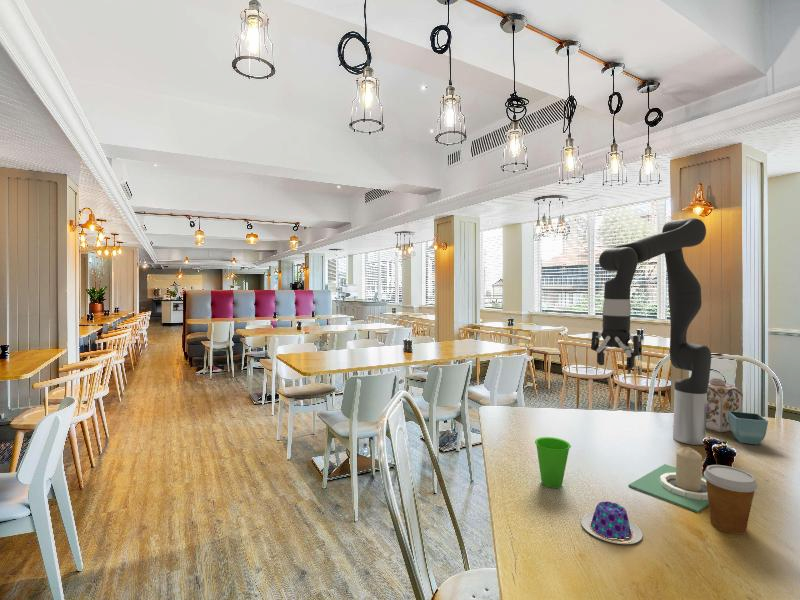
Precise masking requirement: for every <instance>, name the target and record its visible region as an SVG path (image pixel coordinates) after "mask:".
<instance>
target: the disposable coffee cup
mask: <svg viewBox="0 0 800 600" xmlns="http://www.w3.org/2000/svg"><path fill="white" fill-rule="evenodd" d="M703 476H704V477H705V479H706V484H707V494H708V503H709V505H708V510H709V521H710V524H711V525H712V526H713V527H715V528H716V529H718V530H720V531H723V532H725V533H728V534H733V535H744V534H746V533H747V529H748V524H749V519H750V514H751V510H752V505H753V500H754V494H755V491H756V490H757V488H758V487H759V484H758V483H757V481H756V477H755V476H754V475H753V474H751V473H749V472H748V471H746V470H744V469H739V468H736V467H733V466H730V465H729V466H728V465H721V464H711V465H707V466H706V468H705V470H704V471H703Z"/></svg>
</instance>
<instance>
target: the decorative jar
mask: <svg viewBox="0 0 800 600" xmlns="http://www.w3.org/2000/svg"><path fill="white" fill-rule="evenodd" d="M743 398H744V394H743V393H742V392H741V390H740V389H739V388H738V387H736V385H733V384H729V383H726V380H725V378H724V379H723V378H717V377H711V378H709V384H708V388H707V411H706V430H707V429H708V430H711V431H714V432H717V433H727V432H732V431H731V428H730V424H729V416H728V411H733V412H743V408H744V407H743V402H744V401H743V400H744V399H743Z"/></svg>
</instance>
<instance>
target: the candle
mask: <svg viewBox="0 0 800 600" xmlns="http://www.w3.org/2000/svg"><path fill="white" fill-rule="evenodd" d="M675 464H676V465H675V467H676V485H677V486H678V487H680V488H682V489H684V490H688V491H700V490H701V476H702V471H703V470H702V469H703V456H702V455H701V454H700V453H699V452H698V451H697V450H695V449H694V448H693V447H692V448H691V447H689V446H683V447H682V448H680V449H679V450H677V451H676V463H675Z"/></svg>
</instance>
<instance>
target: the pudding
mask: <svg viewBox="0 0 800 600" xmlns="http://www.w3.org/2000/svg"><path fill="white" fill-rule="evenodd" d="M591 520H592V521H591ZM580 521H581V523H580V524H581V525H582V527H583V528H584V530H585V531H587V532H588V533H589V534H591V535H592V536H594V537H595V538H598V539H599V540H603V541H605V542H609V543H612V544H620V545H632V544H636V543H639V542H640V541H641V540H642V538H643V533H642V531H641V529H640V528H639V526H637V525H636V524H635V523H634V522H632V521H630V520H629V517H628V513H627V510H626V508H625V507H623V506H622V505H620V504H618V503H617V502H612V501H600V502H598V504H597V505H596V507H595V509H594V512H591V513H586V514H585V515H583V517H582V518H581V520H580ZM590 521H591V523H590V525H591V526H590V527H591V528H592V527H593V528H594V529H593V528H592V530H593V531H595V532H596V534H597V533H598V535H599V534H602V535H601V536H603V535H604V536H605V537H607V539H608V538H617V539H627V538H626V537H631V536H632V537H633V533H632V531H633V532H634V534H635V536H634V540H633V541H631V542H628V543H617V542H613V541H609V540H606V539H603V538H601V537H599V536H597V535H596V534H594V533H593V532H592V530H590V528H589V525H588V524H589V523H588V522H590ZM630 528H631V529H630ZM631 530H632V531H631ZM604 536H603V537H604ZM605 537H604V538H605ZM632 537H631V538H632ZM617 539H616V540H617Z"/></svg>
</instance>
